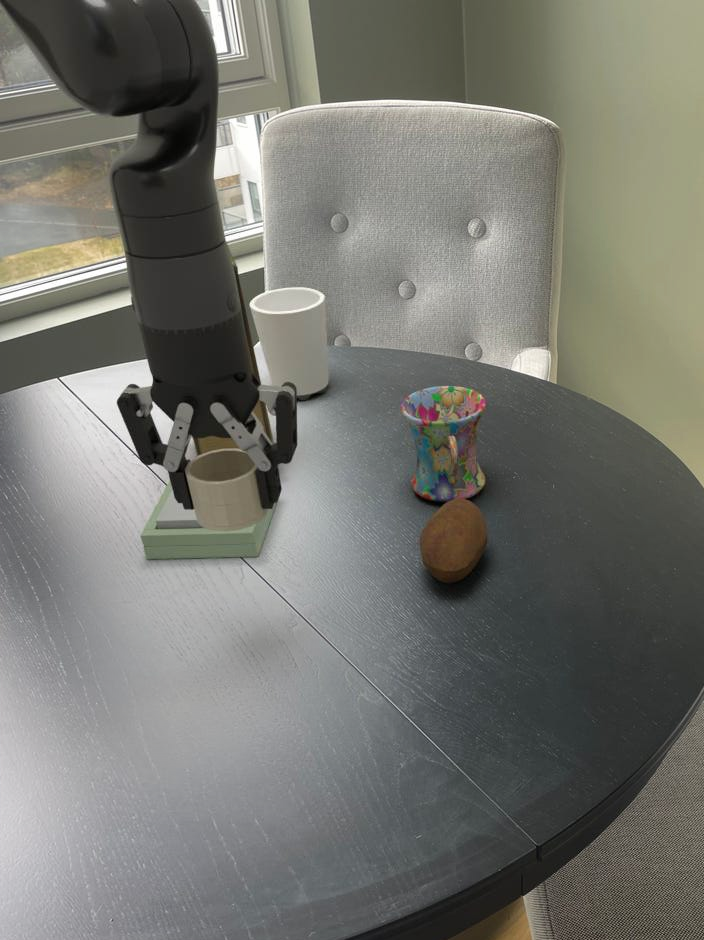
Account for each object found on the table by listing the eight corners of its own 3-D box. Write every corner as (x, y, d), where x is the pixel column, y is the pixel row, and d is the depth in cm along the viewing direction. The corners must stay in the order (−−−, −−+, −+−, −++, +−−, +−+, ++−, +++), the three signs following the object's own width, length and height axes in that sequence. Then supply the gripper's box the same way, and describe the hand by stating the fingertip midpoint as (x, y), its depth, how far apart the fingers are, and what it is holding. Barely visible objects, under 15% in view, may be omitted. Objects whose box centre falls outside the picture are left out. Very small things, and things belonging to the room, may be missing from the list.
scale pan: (158, 531, 103) (155, 520, 102) (180, 489, 110) (177, 478, 109) (242, 529, 102) (240, 518, 101) (259, 487, 109) (256, 476, 108)
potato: (414, 600, 95) (409, 541, 91) (429, 537, 104) (424, 480, 100) (483, 601, 95) (480, 541, 90) (491, 538, 104) (489, 480, 99)
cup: (252, 391, 136) (235, 300, 128) (310, 370, 141) (296, 281, 133) (292, 412, 130) (276, 318, 122) (351, 389, 135) (339, 298, 127)
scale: (146, 559, 103) (139, 535, 101) (175, 502, 112) (169, 479, 111) (258, 556, 103) (253, 532, 101) (278, 499, 112) (273, 476, 110)
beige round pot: (188, 531, 80) (176, 483, 77) (206, 495, 85) (195, 448, 82) (260, 531, 80) (250, 483, 77) (274, 494, 84) (266, 448, 82)
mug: (404, 474, 115) (396, 390, 109) (481, 465, 116) (477, 381, 110) (417, 526, 106) (409, 438, 100) (500, 516, 107) (497, 428, 101)
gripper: (294, 288, 74) (322, 482, 84) (109, 291, 75) (159, 483, 85) (275, 324, 68) (307, 528, 79) (74, 327, 69) (133, 529, 79)
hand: (230, 504), depth 82 cm, fingers closed on beige round pot, 6 cm apart
